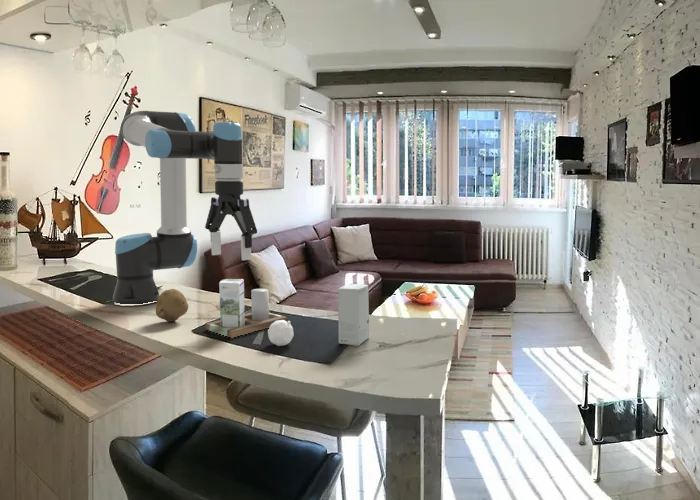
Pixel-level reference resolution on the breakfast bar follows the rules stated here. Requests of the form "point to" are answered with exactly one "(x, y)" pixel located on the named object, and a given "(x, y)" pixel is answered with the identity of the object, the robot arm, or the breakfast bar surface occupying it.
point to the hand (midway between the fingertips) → (231, 257)
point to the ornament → (280, 332)
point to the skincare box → (353, 314)
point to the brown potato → (171, 305)
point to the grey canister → (260, 304)
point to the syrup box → (232, 303)
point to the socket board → (248, 328)
